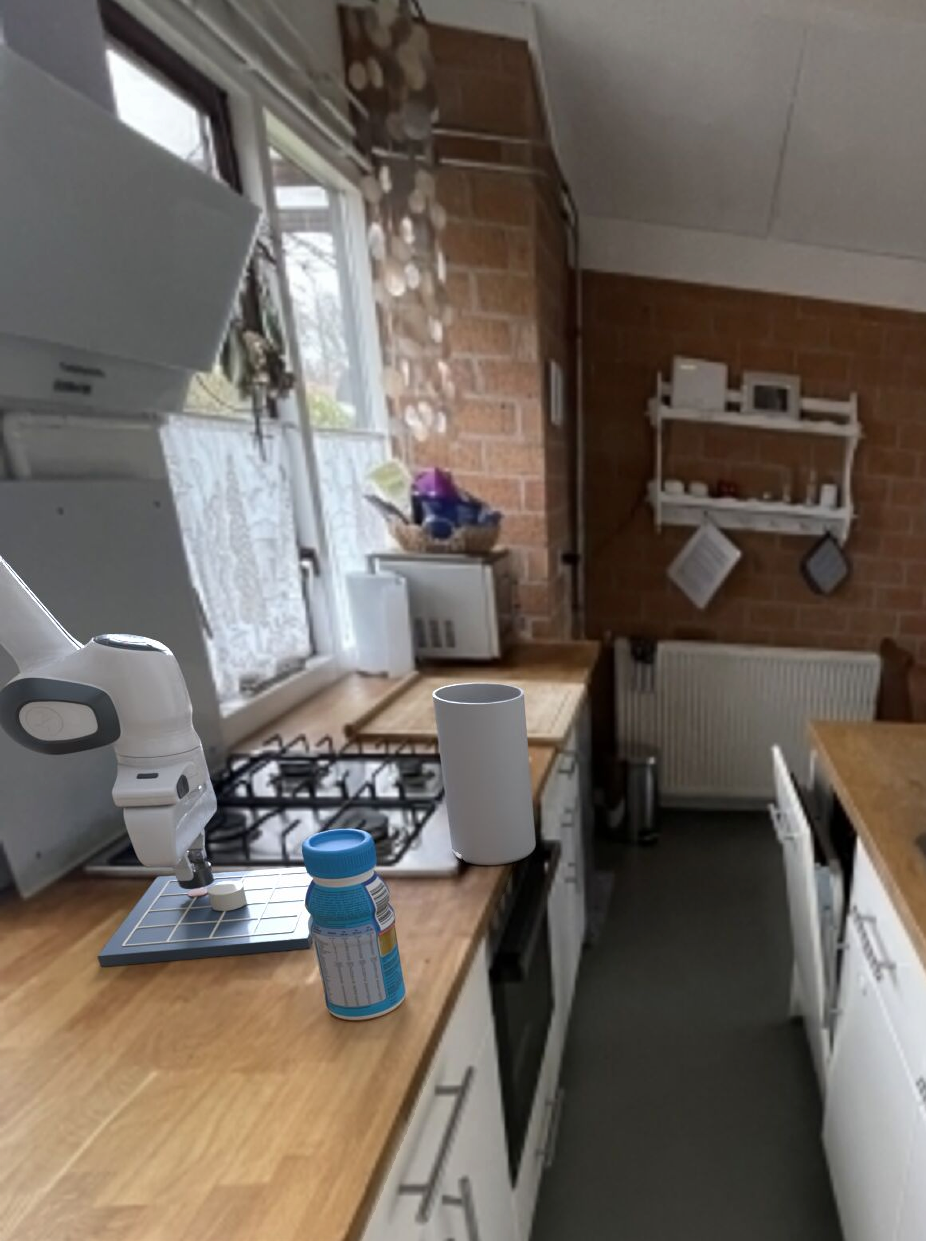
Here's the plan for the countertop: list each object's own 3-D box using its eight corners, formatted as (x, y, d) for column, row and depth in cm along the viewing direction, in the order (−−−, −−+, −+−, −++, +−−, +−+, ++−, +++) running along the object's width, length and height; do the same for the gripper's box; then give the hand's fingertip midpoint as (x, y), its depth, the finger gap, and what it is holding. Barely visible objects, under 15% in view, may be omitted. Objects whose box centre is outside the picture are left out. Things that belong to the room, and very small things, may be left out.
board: (100, 967, 103) (96, 954, 102) (160, 886, 121) (156, 875, 120) (310, 948, 109) (307, 936, 108) (336, 874, 128) (333, 864, 127)
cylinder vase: (510, 872, 132) (494, 708, 121) (435, 860, 134) (413, 697, 123) (550, 841, 143) (539, 688, 132) (480, 830, 145) (464, 679, 134)
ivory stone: (207, 912, 112) (203, 895, 111) (215, 898, 116) (211, 882, 115) (243, 909, 113) (239, 893, 112) (250, 896, 117) (246, 879, 116)
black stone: (175, 890, 114) (170, 873, 113) (184, 877, 117) (179, 861, 116) (210, 888, 115) (205, 871, 114) (218, 875, 119) (213, 859, 118)
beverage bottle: (344, 1032, 94) (309, 863, 85) (313, 999, 99) (278, 836, 90) (420, 1004, 100) (396, 842, 91) (388, 974, 105) (361, 818, 96)
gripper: (161, 745, 117) (187, 841, 123) (105, 798, 100) (139, 906, 106) (216, 744, 119) (238, 838, 125) (169, 795, 102) (199, 902, 108)
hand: (192, 870), depth 115 cm, fingers closed on black stone, 4 cm apart
